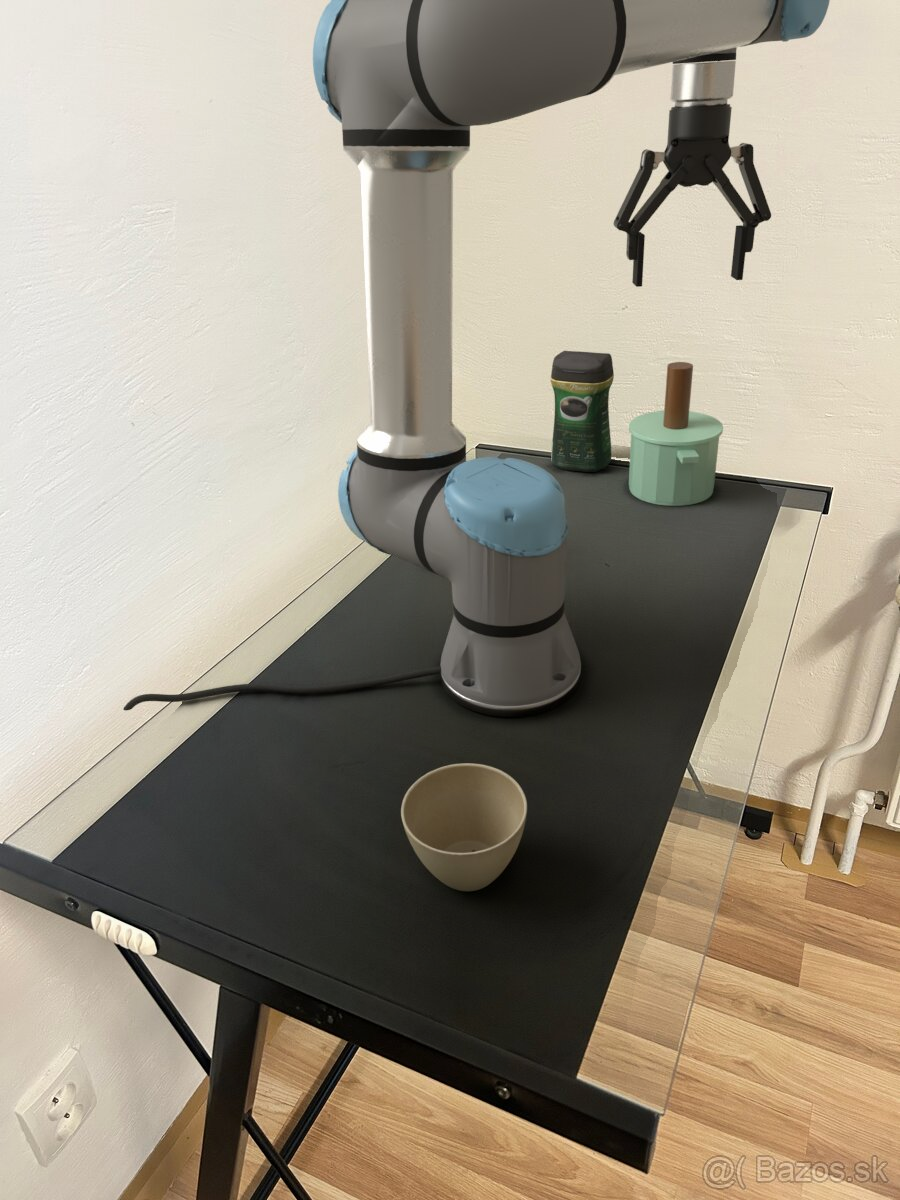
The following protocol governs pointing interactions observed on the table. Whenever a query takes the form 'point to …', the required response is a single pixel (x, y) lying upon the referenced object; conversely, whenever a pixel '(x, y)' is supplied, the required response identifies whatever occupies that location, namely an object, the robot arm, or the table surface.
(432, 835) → the flower pot
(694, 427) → the pot lid
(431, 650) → the table surface
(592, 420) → the coffee jar
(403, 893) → the table surface
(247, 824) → the table surface
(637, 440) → the pot
